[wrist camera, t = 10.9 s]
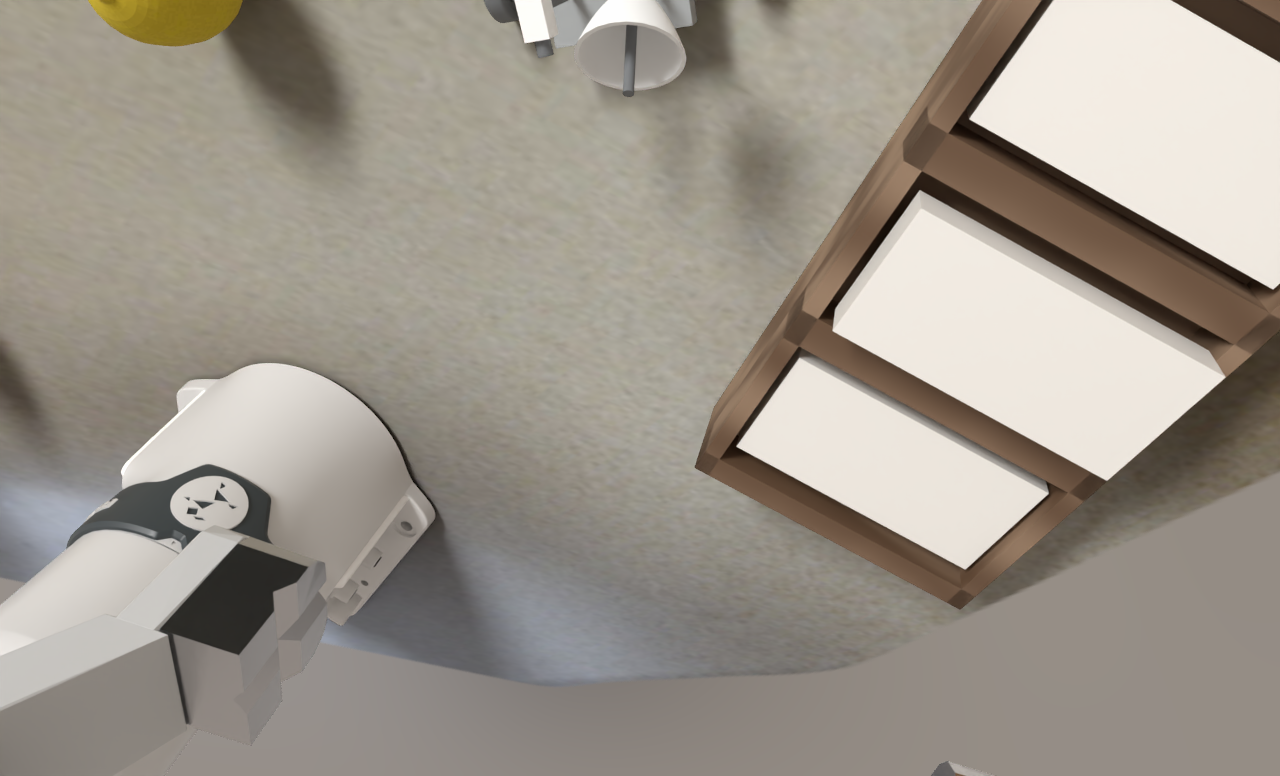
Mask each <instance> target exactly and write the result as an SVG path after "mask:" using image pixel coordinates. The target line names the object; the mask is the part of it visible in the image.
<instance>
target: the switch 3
mask: <svg viewBox="0 0 1280 776" xmlns="http://www.w3.org/2000/svg"><path fill="white" fill-rule="evenodd" d="M832 331H833V332H835V333H837V334H839V335H841V336H842V337H844V338H846V339H848V340H850V341H852V342H853V343H855V344H857V345H859V346H861V347H863V348H864V349H866V350H868V351H870V352H872V353H874V354H875V355H877V356H879V357H881V358H883V359H885V360H886V361H888V362H890V363H892V364H894V365H896V366H897V367H899V368H901V369H903V370H905V371H907V372H908V373H910V374H912V375H914V376H916V377H918V378H919V379H921V380H923V381H925V382H927V383H929V384H930V385H932V386H934V387H936V388H938V389H940V390H941V391H943V392H945V393H947V394H949V395H951V396H952V397H954V398H956V399H958V400H960V401H962V402H963V403H965V404H967V405H969V406H971V407H973V408H974V409H976V410H978V411H980V412H982V413H984V414H985V415H987V416H989V417H991V418H993V419H995V420H996V421H998V422H1000V423H1002V424H1004V425H1006V426H1007V427H1009V428H1011V429H1013V430H1015V431H1016V432H1018V433H1020V434H1022V435H1024V436H1026V437H1027V438H1029V439H1031V440H1033V441H1035V442H1037V443H1038V444H1040V445H1042V446H1044V447H1046V448H1048V449H1049V450H1051V451H1053V452H1055V453H1057V454H1059V455H1060V456H1062V457H1064V458H1066V459H1068V460H1070V461H1071V462H1073V463H1075V464H1077V465H1079V466H1081V467H1082V468H1084V469H1086V470H1088V471H1090V472H1092V473H1093V474H1095V475H1097V476H1099V477H1101V478H1103V479H1104V480H1106V481H1108V480H1109V479H1110V478H1111V477H1112V476H1113V475H1114V474H1116V473H1117V472H1118V471H1119V470H1120V469H1121V468H1122V467H1124V466H1125V465H1126V464H1127V463H1128V462H1129V461H1130V460H1132V459H1133V458H1134V457H1135V456H1136V455H1137V454H1138V453H1140V452H1141V451H1142V450H1143V449H1144V448H1145V447H1146V446H1148V445H1149V444H1150V443H1151V442H1152V441H1153V440H1154V439H1156V438H1157V437H1158V436H1159V435H1160V434H1161V433H1162V432H1164V431H1165V430H1166V429H1167V428H1168V427H1169V426H1170V425H1172V424H1173V423H1174V422H1175V421H1176V420H1177V419H1178V418H1180V417H1181V416H1182V415H1183V414H1184V413H1185V412H1186V411H1188V410H1189V409H1190V408H1191V407H1192V406H1193V405H1195V404H1196V403H1197V402H1198V401H1199V400H1200V399H1201V398H1203V397H1204V396H1205V395H1206V394H1207V393H1208V392H1209V391H1211V390H1212V389H1213V388H1214V387H1215V386H1216V385H1217V384H1219V383H1220V382H1221V381H1222V380H1223V379H1224V378H1225V375H1224V374H1223V372H1222V370H1221V369H1220V367H1219V366H1218V364H1217V363H1216V361H1215V359H1214V358H1213V356H1212V355H1211V353H1210V351H1209V350H1207V349H1205V348H1203V347H1202V346H1200V345H1198V344H1196V343H1194V342H1193V341H1191V340H1189V339H1187V338H1185V337H1184V336H1182V335H1180V334H1178V333H1176V332H1175V331H1173V330H1171V329H1169V328H1167V327H1166V326H1164V325H1162V324H1160V323H1158V322H1157V321H1155V320H1153V319H1151V318H1149V317H1148V316H1146V315H1144V314H1142V313H1140V312H1139V311H1137V310H1135V309H1133V308H1131V307H1130V306H1128V305H1126V304H1124V303H1122V302H1120V301H1119V300H1117V299H1115V298H1113V297H1111V296H1110V295H1108V294H1106V293H1104V292H1102V291H1101V290H1099V289H1097V288H1095V287H1093V286H1092V285H1090V284H1088V283H1086V282H1084V281H1083V280H1081V279H1079V278H1077V277H1075V276H1074V275H1072V274H1070V273H1068V272H1066V271H1065V270H1063V269H1061V268H1059V267H1057V266H1056V265H1054V264H1052V263H1050V262H1048V261H1047V260H1045V259H1043V258H1041V257H1039V256H1038V255H1036V254H1034V253H1032V252H1030V251H1029V250H1027V249H1025V248H1023V247H1021V246H1020V245H1018V244H1016V243H1014V242H1012V241H1011V240H1009V239H1007V238H1005V237H1003V236H1002V235H1000V234H998V233H996V232H994V231H993V230H991V229H989V228H987V227H985V226H984V225H982V224H980V223H978V222H976V221H975V220H973V219H971V218H969V217H967V216H966V215H964V214H962V213H960V212H958V211H957V210H955V209H953V208H951V207H949V206H948V205H946V204H944V203H942V202H940V201H939V200H937V199H935V198H933V197H931V196H930V195H928V194H926V193H924V192H922V191H921V190H919V192H918V193H917V195H916V196H915V197H914V199H913V200H912V202H911V203H910V204H909V206H908V207H907V209H906V210H905V212H904V213H903V214H902V216H901V217H900V219H899V220H898V221H897V223H896V224H895V226H894V227H893V228H892V230H891V231H890V233H889V234H888V235H887V237H886V238H885V240H884V241H883V242H882V244H881V245H880V247H879V248H878V249H877V251H876V252H875V254H874V255H873V257H872V258H871V259H870V261H869V262H868V264H867V265H866V266H865V268H864V269H863V271H862V272H861V273H860V275H859V276H858V278H857V279H856V280H855V282H854V283H853V285H852V286H851V287H850V289H849V290H848V292H847V293H846V294H845V296H844V297H843V299H842V300H841V302H840V303H839V304H838V306H837V307H836V309H835V315H834V323H833V330H832Z"/></svg>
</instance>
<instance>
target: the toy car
mask: <svg viewBox="0 0 1280 776" xmlns="http://www.w3.org/2000/svg"><path fill="white" fill-rule="evenodd" d="M484 2H485V5H486V7H487V9H488V11H489V12H490V14H491V15H492V17H493V18H494V19H495V20H497V21H498V22H500V23H506V22H512V21H517V20H519V21H520V25H521V30H522V34H523V38H524V42H525V43H529V42H535V46H536V51H537V55H538V57H539V58H540V57H546V56H550V55H553V54H554V53H553V49H552V44H551V40H550V39H551V38H552V37H554V42H555V46H556V48H561V47H567V46H573V45H576V46H575V48H574V59H575V61H576V63H577V66H578V67H579V68H580V70H581V71H582V72H583V73H584V74H585V75H586V76H588V77H589V78H591V79H592V80H594V81H595V82H598V83H600V84H602V85H605V86H607V87H611V88H616V89H620V90H623V95H624V96H626V97H631V96H633V95H634V91H636V90H648V89H652V88H657V87H660V86H663V85H665V84H667V83H669V82H671V81H672V80H674V79H675V78H676V77H678V76H679V75H680V73H681V72H682V71H683V69H684V68H685V64H686V59H687V58H686V54H685V49H684V47H683V45H682V42H681V40H680V38H679V36H678V34H677V32H676V30H675V28H680V27H686V26H692V25H694V24H695V23H696V22H697V15H696V7H695V0H484Z"/></svg>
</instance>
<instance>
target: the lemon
mask: <svg viewBox="0 0 1280 776" xmlns="http://www.w3.org/2000/svg"><path fill="white" fill-rule="evenodd" d="M88 1H89V3H90V4H91V6H92V7H93V8H94V10H95V11H96V12H97V14H98V15H99V16H100V17H101V18H102V19H103V20H105V21H106V22H107V23H108V24H109V25H110V26H111V27H113V28H114V29H116V30H117V31H119V32H120V33H122V34H124V35H125V36H127V37H130V38H132V39H135V40H137V41H140V42H143V43H148V44H154V45H162V46H184V45H190V44H194V43H199V42H203V41H206V40H208V39H210V38H212V37H214V36H215V35H217V34H219V33H220V32H222V31H223V30H225V29H226V28H227V27H228V26H229V25H230V24H231V23H232V21H233V20H234V19H235V17H236V16H237V14H238V13H239V10H240V7H241V4H242V1H243V0H88Z"/></svg>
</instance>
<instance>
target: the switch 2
mask: <svg viewBox="0 0 1280 776" xmlns="http://www.w3.org/2000/svg"><path fill="white" fill-rule="evenodd" d="M966 110H967V113H968V117H969V119H970V120H971V121H973V122H975V123H977V124H979V125H980V126H982V127H984V128H986V129H988V130H989V131H991V132H993V133H995V134H996V135H998V136H1000V137H1002V138H1004V139H1005V140H1007V141H1009V142H1011V143H1013V144H1014V145H1016V146H1018V147H1020V148H1021V149H1023V150H1025V151H1027V152H1029V153H1030V154H1032V155H1034V156H1036V157H1037V158H1039V159H1041V160H1043V161H1045V162H1046V163H1048V164H1050V165H1052V166H1054V167H1055V168H1057V169H1059V170H1061V171H1062V172H1064V173H1066V174H1068V175H1070V176H1071V177H1073V178H1075V179H1077V180H1079V181H1080V182H1082V183H1084V184H1086V185H1087V186H1089V187H1091V188H1093V189H1095V190H1096V191H1098V192H1100V193H1102V194H1103V195H1105V196H1107V197H1109V198H1111V199H1112V200H1114V201H1116V202H1118V203H1120V204H1121V205H1123V206H1125V207H1127V208H1128V209H1130V210H1132V211H1134V212H1136V213H1137V214H1139V215H1141V216H1143V217H1145V218H1146V219H1148V220H1150V221H1152V222H1153V223H1155V224H1157V225H1159V226H1161V227H1162V228H1164V229H1166V230H1168V231H1169V232H1171V233H1173V234H1175V235H1177V236H1178V237H1180V238H1182V239H1184V240H1186V241H1187V242H1189V243H1191V244H1193V245H1194V246H1196V247H1198V248H1200V249H1202V250H1203V251H1205V252H1207V253H1209V254H1211V255H1212V256H1214V257H1216V258H1218V259H1219V260H1221V261H1223V262H1225V263H1227V264H1228V265H1230V266H1232V267H1234V268H1235V269H1237V270H1239V271H1241V272H1243V273H1244V274H1246V275H1248V276H1250V277H1252V278H1253V279H1255V280H1257V281H1259V282H1260V283H1262V284H1264V285H1266V286H1268V287H1269V288H1271V289H1274V288H1275V287H1276V286H1278V285H1279V284H1280V63H1279V62H1278V61H1276V60H1274V59H1273V58H1271V57H1269V56H1267V55H1266V54H1264V53H1262V52H1260V51H1259V50H1257V49H1255V48H1253V47H1252V46H1250V45H1248V44H1246V43H1245V42H1243V41H1241V40H1239V39H1238V38H1236V37H1234V36H1232V35H1231V34H1229V33H1227V32H1225V31H1224V30H1222V29H1220V28H1218V27H1217V26H1215V25H1213V24H1211V23H1210V22H1208V21H1206V20H1204V19H1203V18H1201V17H1199V16H1197V15H1196V14H1194V13H1192V12H1190V11H1189V10H1187V9H1185V8H1183V7H1182V6H1180V5H1178V4H1176V3H1175V2H1173V1H1171V0H1041V2H1040V3H1039V5H1038V6H1037V8H1036V9H1035V10H1034V12H1033V13H1032V15H1031V16H1030V18H1029V19H1028V20H1027V22H1026V23H1025V25H1024V26H1023V28H1022V29H1021V30H1020V32H1019V33H1018V35H1017V36H1016V38H1015V39H1014V40H1013V42H1012V43H1011V45H1010V46H1009V48H1008V49H1007V50H1006V52H1005V53H1004V55H1003V56H1002V57H1001V59H1000V60H999V62H998V63H997V65H996V66H995V67H994V69H993V70H992V72H991V73H990V75H989V76H988V77H987V79H986V80H985V82H984V83H983V85H982V86H981V87H980V89H979V90H978V92H977V93H976V95H975V96H974V97H973V99H972V100H971V102H970V103H969V105H968V106H967V107H966Z"/></svg>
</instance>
